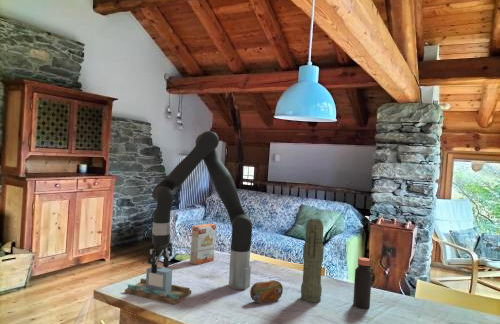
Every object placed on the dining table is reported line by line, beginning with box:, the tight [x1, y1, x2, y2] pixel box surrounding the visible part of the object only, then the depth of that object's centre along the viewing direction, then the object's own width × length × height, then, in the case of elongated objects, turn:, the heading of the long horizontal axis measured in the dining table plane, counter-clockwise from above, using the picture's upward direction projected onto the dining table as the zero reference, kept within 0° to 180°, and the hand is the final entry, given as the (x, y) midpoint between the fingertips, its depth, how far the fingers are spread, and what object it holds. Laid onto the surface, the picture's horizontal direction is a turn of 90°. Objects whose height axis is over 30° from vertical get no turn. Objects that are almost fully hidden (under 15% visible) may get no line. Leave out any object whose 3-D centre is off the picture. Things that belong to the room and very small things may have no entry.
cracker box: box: [189, 223, 217, 266], centre depth 204 cm, size 14×6×21 cm, turn 143°
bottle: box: [352, 257, 373, 309], centre depth 154 cm, size 7×7×20 cm
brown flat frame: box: [124, 278, 192, 305], centre depth 156 cm, size 25×13×3 cm, turn 69°
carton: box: [145, 266, 173, 292], centre depth 156 cm, size 5×10×9 cm, turn 69°
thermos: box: [300, 218, 325, 304], centre depth 158 cm, size 9×12×35 cm
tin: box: [249, 279, 284, 304], centre depth 154 cm, size 15×3×8 cm, turn 117°
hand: (160, 270), depth 155 cm, fingers open, 8 cm apart
